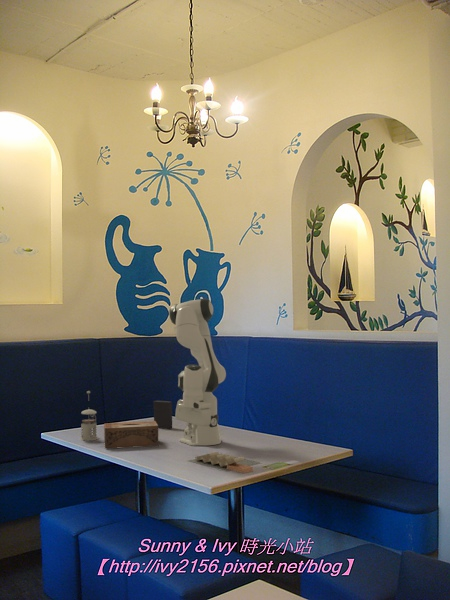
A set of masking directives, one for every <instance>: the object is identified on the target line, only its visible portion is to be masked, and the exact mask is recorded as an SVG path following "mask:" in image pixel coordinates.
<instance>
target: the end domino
mask: <svg viewBox="0 0 450 600" xmlns="http://www.w3.org/2000/svg"><path fill="white" fill-rule="evenodd" d="M227 469H229V470H231V471H235V472H238V473H242V474H247V473H251V472H253V471H254V467H253V466H247V465H243V464H238V463H233V464H229V465H227Z"/></svg>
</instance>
